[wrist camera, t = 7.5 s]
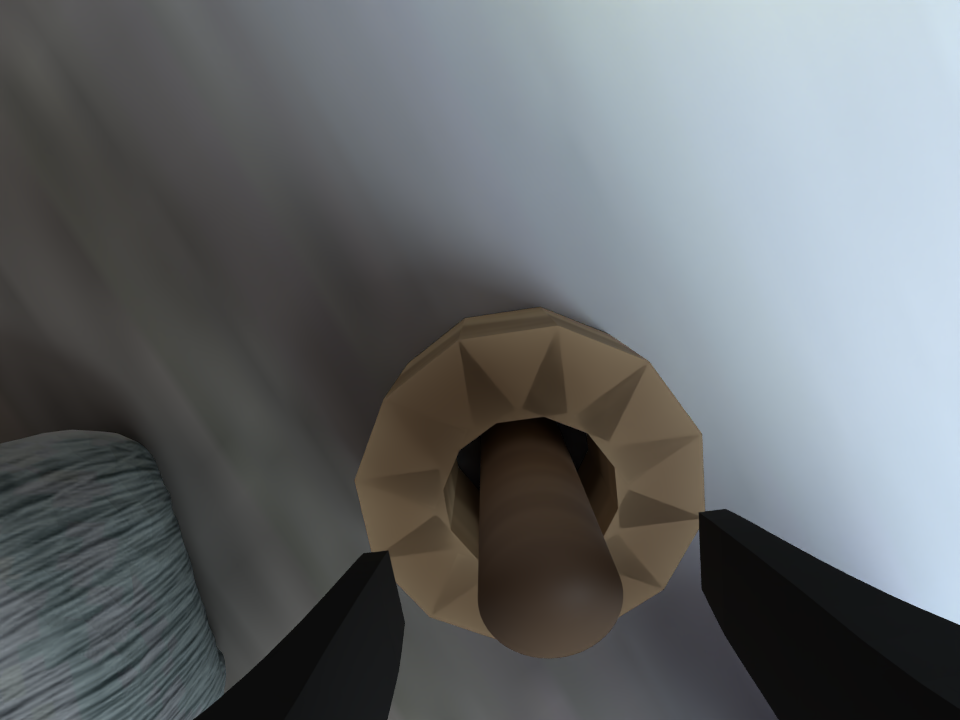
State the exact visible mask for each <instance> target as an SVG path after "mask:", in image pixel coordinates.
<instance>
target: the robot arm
mask: <svg viewBox="0 0 960 720" xmlns="http://www.w3.org/2000/svg"><path fill="white" fill-rule="evenodd" d="M698 513H699V537H700V561H701V585H702V591H703V593H704V595H705V597H706V599H707V601H708V603H709V605H710V607H711V609H712V611H713V613H714V615H715V617H716V619H717V621H718V623H719V625H720V627H721V629H722V631H723V633H724V635H725V636H726V638H727V640H728V641H729V643H730V645H731V646H732V648H733V649H734V651H735V652H736V654H737V656H738V657H739V659H740V660H741V662H742V663H743V665H744V667H745V668H746V670H747V671H748V673H749V674H750V676H751V677H752V679H753V681H754V682H755V684H756V685H757V687H758V688H759V690H760V691H761V693H762V694H763V696H764V698H765V699H766V701H767V702H768V704H769V705H770V707H771V708H772V710H773V711H774V713H775V715H776V716H777V718H778V719H779V720H960V625H958V624H956V623H954V622H951V621H949V620H947V619H944V618H942V617H939V616H937V615H935V614H932V613H930V612H928V611H925V610H923V609H921V608H918V607H916V606H914V605H911V604H909V603H907V602H905V601H902V600H900V599H898V598H896V597H894V596H891V595H889V594H887V593H885V592H883V591H881V590H879V589H877V588H875V587H873V586H871V585H869V584H867V583H864V582H862V581H860V580H858V579H856V578H854V577H852V576H850V575H848V574H846V573H844V572H842V571H840V570H838V569H836V568H834V567H832V566H831V565H829V564H827V563H825V562H823V561H821V560H819V559H817V558H815V557H813V556H812V555H810V554H808V553H806V552H804V551H802V550H800V549H799V548H797V547H795V546H793V545H791V544H789V543H788V542H786V541H784V540H782V539H780V538H779V537H777V536H775V535H773V534H771V533H770V532H768V531H766V530H764V529H763V528H761V527H759V526H757V525H755V524H753V523H752V522H750V521H748V520H746V519H744V518H743V517H741V516H739V515H737V514H735V513H733V512H731V511H729V510H727V509H722V510H714V511H705V512H698ZM404 626H405V621H404V617H403V612H402V608H401V603H400V599H399V594H398V590H397V586H396V581H395V577H394V572H393V568H392V564H391V559H390V555H389V550H387V551H379V552H371V553H363V554H362V555H361V556H360V557H359V558H358V559H357V561H356V562H355V563H354V564H353V565H352V566H351V567H350V568H349V569H348V570H347V571H346V573H345V574H344V575H343V576H342V577H341V578H340V579H339V580H338V582H337V583H336V584H335V585H334V586H333V587H332V588H331V589H330V590H329V592H328V593H327V594H326V595H325V596H324V597H323V598H322V599H321V600H320V601H319V602H318V604H317V605H316V606H315V607H314V608H313V609H312V610H311V611H310V612H309V613H308V614H307V615H306V617H305V618H304V619H303V620H302V621H301V622H300V623H299V624H298V625H297V626H296V627H295V628H294V629H293V630H292V631H291V632H290V633H289V634H288V635H287V636H286V637H285V638H284V639H283V640H282V641H281V642H280V643H279V644H278V645H277V646H276V647H275V648H274V649H273V650H272V651H271V652H270V653H269V654H268V655H267V656H266V657H265V658H264V659H263V660H262V661H261V662H259V663H258V664H257V665H256V666H255V667H254V668H253V669H252V670H251V671H250V672H249V673H248V674H246V675H245V676H244V677H243V678H242V679H241V680H240V681H239V682H237V683H236V684H235V685H234V686H233V687H232V688H231V689H229V690H228V691H227V692H226V693H225V694H224V695H222V696H221V697H220V698H219V699H218V700H217V701H215V702H214V703H213V704H212V705H211V706H209V707H208V708H207V709H206V710H205V711H203V712H202V713H201V714H199V715H198V716H197V717H196V718H194V719H193V720H387V719H388V715H389V711H390V706H391V702H392V698H393V694H394V689H395V685H396V681H397V676H398V672H399V666H400V659H401V652H402V643H403V635H404Z"/></svg>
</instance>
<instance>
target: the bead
mask: <svg viewBox="0 0 960 720" xmlns="http://www.w3.org/2000/svg"><path fill="white" fill-rule="evenodd" d="M538 417H546V418H549V419H551V420H554V421H557V422H559V423H562V424H565V425H567V426H570V427H573V428H575V429H578V430H580V431H583V432H586V434H587V444H588V451H587V453H586V455H585V457H584V459H583V461H582V463H581V465H580V467H579V469H578V472H577V473H578V476H579V478H580V481H581V483H582V485H583V488H584V490H585V493H586V495H587V498H588V500H589V502H590V505H591V507H592V510H593V512H594V515H595V517H596V519H597V522H598V524H599V527H600V529H601V532H602V534H603V537H604V539H605V541H606V544H607V546H608V549H609V551H610V554H611V556H612V558H613V561H614V563H615V566H616V568H617V571H618V573H619V576H620V579H621V582H622V586H623V604H622V609H621V612H620V615H619V617H620V616H622V615H623V614H625V613H627V612H628V611H630V610H632V609H633V608H635V607H636V606H638V605H640V604H641V603H643V602H644V601H646V600H648V599H649V598H651V597H653V596H654V595H656V594H657V593H659V592H661V591H662V590H664V588H665V586H666V585H667V583H668V581H669V580H670V578H671V576H672V574H673V573H674V571H675V569H676V567H677V566H678V564H679V562H680V561H681V559H682V557H683V555H684V554H685V552H686V550H687V549H688V547H689V545H690V543H691V542H692V540H693V538H694V536H695V535H696V533H697V531H698V530H699V513H698V512H705V498H704V471H703V443H702V433H701V432H700V430H699V429H698V428H697V426H696V425H695V424H694V422H693V421H692V420H691V418H690V417H689V415H688V414H687V413H686V411H685V410H684V409H683V407H682V406H681V404H680V403H679V402H678V400H677V399H676V398H675V396H674V395H673V394H672V392H671V391H670V389H669V388H668V387H667V385H666V384H665V383H664V381H663V380H662V378H661V377H660V376H659V374H658V373H657V372H656V370H655V369H654V368H653V366H652V365H651V363H650V362H649V361H648V360H646V359H645V358H643V357H642V356H640V355H639V354H637V353H636V352H634V351H633V350H631V349H630V348H629V347H627V346H626V345H624V344H623V343H621V342H620V341H618V340H617V339H615V338H614V337H612V336H611V335H609V334H607V333H605V332H602V331H600V330H597V329H594V328H592V327H589V326H587V325H584V324H582V323H579V322H577V321H574V320H572V319H569V318H567V317H564V316H562V315H559V314H557V313H554V312H552V311H549V310H547V309H544V308H542V307H536V308H529V309H523V310H516V311H509V312H502V313H496V314H489V315H482V316H475V317H469V318H464V319H463V320H462V321H461V322H459V323H458V324H457V325H456V326H454V327H453V328H452V329H451V330H449V331H448V332H447V333H446V334H444V335H443V336H442V337H441V338H439V339H438V340H437V341H436V342H434V343H433V344H432V345H430V346H429V347H428V348H427V349H425V350H424V351H423V352H422V353H420V354H419V355H418V356H417V357H415V358H414V359H413V360H412V361H410V362H409V363H408V364H407V365H406V367H405V368H404V370H403V371H402V373H401V374H400V376H399V377H398V379H397V380H396V382H395V383H394V385H393V386H392V387H391V389H390V390H389V392H388V393H387V395H386V396H385V398H384V399H383V402H382V405H381V408H380V411H379V413H378V416H377V419H376V422H375V425H374V427H373V430H372V433H371V436H370V439H369V441H368V444H367V447H366V450H365V452H364V455H363V458H362V461H361V464H360V466H359V469H358V472H357V475H356V478H355V484H356V489H357V493H358V497H359V501H360V505H361V510H362V514H363V518H364V522H365V526H366V531H367V535H368V539H369V543H370V547H371V551H372V552H379V551H387V550H389V555H390V559H391V564H392V568H393V572H394V577H395V581H396V583H397V584H398V585H399V586H400V587H401V588H402V589H403V590H404V591H405V592H406V593H407V594H408V595H409V596H410V597H411V598H412V599H413V600H414V601H415V602H416V603H417V604H418V605H419V606H420V607H421V609H422V610H423V611H424V612H425V613H426V614H427V615H428V616H429V617H431V618H434V619H437V620H440V621H443V622H446V623H449V624H452V625H455V626H458V627H461V628H464V629H467V630H470V631H473V632H476V633H479V634H482V635H485V636H488V637H491V638H494V639H496V638H495V637H494V636H493V635H492V634H491V633H490V632H489V631H488V629H487V628H486V626H485V624H484V623H483V620H482V618H481V616H480V612H479V608H478V558H479V515H480V491H479V490H478V489H477V488H476V487H475V485H474V484H473V483H472V482H471V481H470V480H469V479H468V477H467V476H466V475H465V474H464V473H463V472H462V471H461V469H460V468H459V467H458V462H457V455H458V452H459V450H461V449H462V448H463V447H465V446H466V445H467V444H469V443H470V442H471V441H473V440H474V439H475V438H477V437H478V436H480V435H481V434H482V433H484V432H485V431H486V430H488V429H489V428H490V427H492V426H493V425H494V424H496V423H501V422H508V421H516V420H523V419H530V418H538ZM619 617H618V618H619Z"/></svg>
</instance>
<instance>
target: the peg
mask: <svg viewBox="0 0 960 720" xmlns="http://www.w3.org/2000/svg"><path fill="white" fill-rule="evenodd" d="M622 604H623V586H622V582H621V579H620V576H619V573H618V571H617V568H616V566H615V563H614V561H613V558H612V556H611V554H610V551H609V549H608V546H607V544H606V541H605V539H604V537H603V534H602V532H601V529H600V527H599V524H598V522H597V519H596V517H595V515H594V512H593V510H592V507H591V505H590V502H589V500H588V498H587V495H586V493H585V490H584V488H583V485H582V483H581V481H580V478H579V476H578V473H577V471H576V468H575V466H574V464H573V461H572V459H571V456H570V454H569V451H568V449H567V446H566V444H565V442H564V439H563V437H562V434H561V432H560V429H559V427H558V425H557V423H556V421H554V420H551V419H549V418H546V417H538V418H530V419H523V420H516V421H508V422H501V423H496V424H494V425H493V426H492V427H490V428H489V429H488V430H486V431H485V432H484V433H482V435H481V472H480V515H479V558H478V608H479V612H480V616H481V618H482V620H483V623H484V624H485V626H486V628H487V629H488V631H489V632H490V633H491V634H492V635H493V636H494V637H495V638H496V639H497V640H498V641H499V642H500V643H502V644H503V645H504V646H506V647H508V648H509V649H511V650H513V651H515V652H518V653H520V654H523V655H527V656H531V657H537V658H560V657H566V656H570V655H574V654H577V653H580V652H582V651H584V650H586V649H588V648H590V647H592V646H593V645H595V644H596V643H598V642H599V641H600V640H602V639H603V638H604V637H605V636H606V635H607V634H608V633H609V632H610V630H611V629H612V628H613V626H614V625H615V623H616V621H617V619H618V617H619V615H620V612H621V609H622Z"/></svg>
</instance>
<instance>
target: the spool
mask: <svg viewBox="0 0 960 720" xmlns="http://www.w3.org/2000/svg"><path fill="white" fill-rule="evenodd" d="M225 680H226V669H225V661H224V657H223V654H222V652H221V651H220V650H219V649H218V648H217V647H216V642H215V637H214V635H213V633H212V631H211V629H210V627H209V624H208V620H207V616H206V611H205V607H204V605H203V602H202V600H201V597H200V595H199V592H198V589H197V586H196V583H195V579H194V574H193V569H192V565H191V562H190V558H189V555H188V553H187V550H186V548H185V545H184V542H183V539H182V536H181V532H180V528H179V524H178V520H177V518H176V516H175V514H174V512H173V510H172V504H171V497H170V494H169V492H168V491H167V489H166V487H165V485H164V483H163V480H162V478H161V475H160V472H159V470H158V467H157V465H156V462H155V460H154V458H153V456H152V455H151V454H150V453H149V451H148V450H147V449H146V448H145V447H144V446H142V445H141V444H140V443H138V442H136V441H134V440H132V439H129V438H127V437H125V436H123V435H120V434H118V433H111V432H102V431H87V430H63V431H55V432H48V433H42V434H38V435H34V436H30V437H26V438H22V439H18V440H13V441H9V442H5V443H1V444H0V720H193V719H194V718H196V717H197V716H198V715H199V714H201V713H202V712H203V711H205V710H206V709H207V708H208V707H209V706H211V705H212V704H213V703H214V702H215V701H217V700H218V699H219V698H220V697H221V696H222V695H223V694H224V687H225Z"/></svg>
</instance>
